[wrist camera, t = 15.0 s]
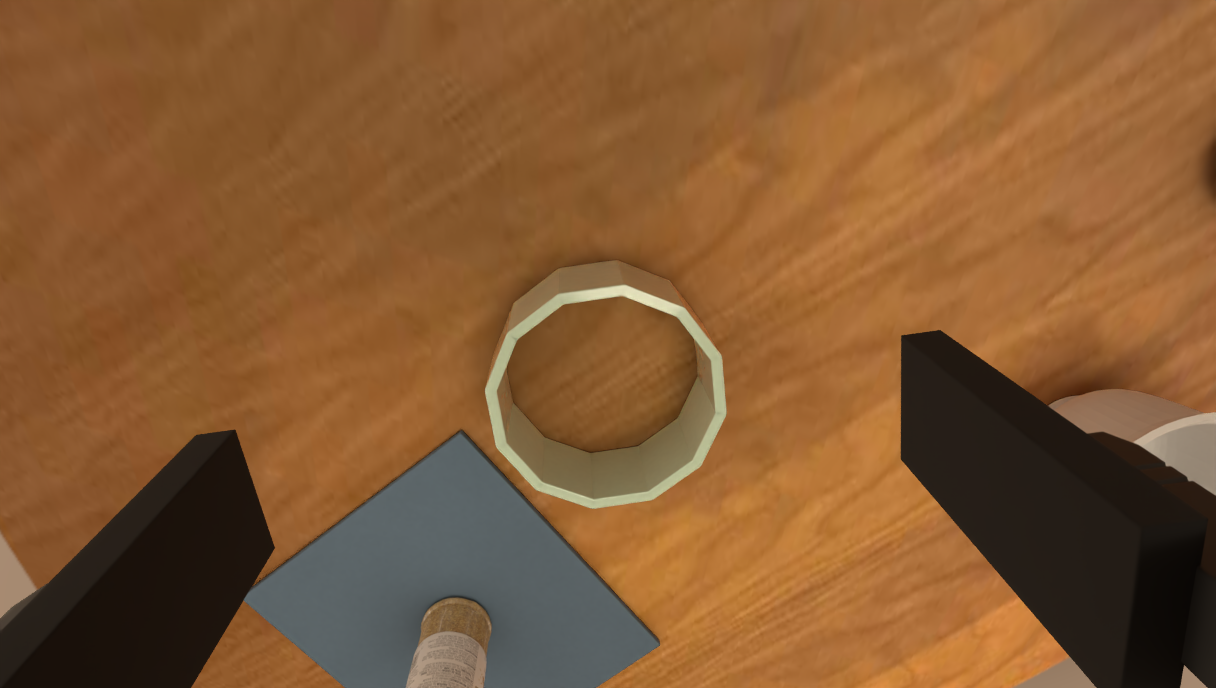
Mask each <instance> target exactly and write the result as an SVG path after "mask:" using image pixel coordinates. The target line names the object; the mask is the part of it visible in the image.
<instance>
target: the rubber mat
mask: <svg viewBox="0 0 1216 688" xmlns="http://www.w3.org/2000/svg"><path fill="white" fill-rule="evenodd" d="M455 597H458V598H464V599H467V600H471V601H474V602H476V603H477V604H479V605H480V606H481V607H482V608H483V609H484V610H485V611H486V612H487V614H488V615H489V617H490V621H491V624H492V629H491V636H490V639H489V641H488V648H487V655H486V662H487V663H486V672H485V680H484V687H483V688H596V687H598V686H599V685H601V684H602V683H604V682H605V681H607V680H608V679H610V678H611V677H613V676H614V675H616V674H617V673H619V672H621V671H622V670H624V669H625V668H627V667H628V666H630V665H631V664H633V663H634V662H636V661H637V660H639V659H640V658H642V657H643V656H645V655H646V654H648V653H649V652H651V651H652V650H654V649H655V648H657V647H658V646H660V641H659V640H658V638H657V637H656V636H655V635H654V634H653V633H652V632H651V631H650V630H649V629H648V628H647V627H646V626H645V625H644V624H643V623H642V621H641V620H640V619H639V618H638V617H637V616H636V615H635V614H634V613H633V612H632V611H631V610H630V609H629V608H628V607H627V605H626V604H625V603H624V602H623V601H622V600H621V599H620V598H619V597H618V596H617V595H616V594H615V593H614V592H613V591H612V590H611V588H610V587H609V586H608V585H607V584H606V583H605V582H604V581H603V580H602V579H601V578H600V577H599V576H598V575H597V574H596V572H595V571H594V570H593V569H592V568H591V567H590V566H589V565H588V564H587V563H586V562H585V561H584V560H583V559H582V558H581V556H580V555H579V554H578V553H577V552H576V551H575V550H574V549H573V548H572V547H571V546H570V545H569V544H568V543H567V542H566V541H565V539H564V538H563V537H562V536H561V535H560V534H559V533H558V532H557V531H556V530H555V529H554V528H553V527H552V526H551V525H550V523H549V522H548V521H547V520H546V519H545V518H544V517H543V516H542V515H541V514H540V513H539V512H538V511H537V510H536V509H535V508H534V506H533V505H532V504H531V503H530V502H529V501H528V500H527V499H526V498H525V497H524V496H523V495H522V494H521V493H520V492H519V490H518V489H517V488H516V487H515V486H514V485H513V484H512V483H511V482H510V481H509V480H508V479H507V478H506V477H505V476H504V474H503V473H502V472H501V471H500V470H499V469H498V468H497V467H496V466H495V465H494V464H493V463H492V462H491V461H490V460H489V459H488V457H487V456H486V455H485V454H484V453H483V452H482V451H481V450H480V449H479V448H478V447H477V446H476V445H475V444H474V443H473V441H472V440H471V439H470V438H469V437H468V436H467V435H466V434H465V433H464V432H463V431H462V430H461V431H459V432H458V433H457V434H455V435H454V436H453V437H451V438H450V439H449V440H447V441H446V442H445V443H443V444H442V445H441V446H439V447H438V448H437V449H435V450H434V451H433V452H431V453H430V454H429V455H427V456H426V457H425V458H424V459H422V460H421V461H420V462H418V463H417V464H416V465H414V466H413V467H412V468H410V469H409V470H408V471H406V472H405V473H404V474H402V475H401V476H400V477H398V478H397V479H396V480H394V481H393V482H392V483H390V484H389V485H388V486H386V487H385V488H384V489H382V490H381V491H380V492H378V493H377V494H376V495H374V496H373V497H372V498H370V499H369V500H368V501H366V502H365V503H364V504H362V505H361V506H360V507H358V508H357V509H356V510H354V511H353V512H352V513H350V514H349V515H348V516H346V517H345V518H344V519H342V520H341V521H340V522H338V523H337V524H336V525H334V526H333V527H332V528H330V529H329V530H328V531H326V532H325V533H324V534H322V535H321V536H320V537H318V538H317V539H316V540H314V541H313V542H312V543H310V544H309V545H308V546H306V547H305V548H304V549H302V550H301V551H300V552H298V553H297V554H296V555H294V556H293V557H292V558H290V559H289V560H288V561H286V562H285V563H284V564H282V565H281V566H280V567H278V568H277V569H276V570H274V571H273V572H272V573H270V574H269V575H268V576H266V577H265V578H264V579H262V580H261V581H260V582H258V583H257V584H256V585H254V586H253V587H252V588H251V589H250V590H249V592H248V594H247V595H246V597H245V599H244V601H245V602H246V603H247V604H248V605H250V606H251V607H252V608H253V609H254V610H255V611H257V612H258V613H259V614H260V615H261V616H262V617H264V618H265V619H266V620H267V621H268V622H269V623H271V624H272V625H273V626H274V627H275V628H276V629H277V630H279V631H280V632H281V633H282V634H283V635H284V636H286V637H287V638H288V639H289V640H290V641H291V642H293V643H294V644H295V645H296V646H297V647H298V648H300V649H301V650H302V651H303V652H304V653H305V654H307V655H308V656H309V657H310V658H311V659H312V660H314V661H315V662H316V663H317V664H318V665H319V666H321V667H322V668H323V669H324V670H325V671H326V672H328V673H329V674H330V675H331V676H332V677H333V678H335V679H336V680H337V681H338V682H339V683H340V684H342V685H343V686H344V687H345V688H406V684H407V680H408V676H409V673H410V669H411V665H412V661H413V657H414V654H415V651H416V649H417V647H418V643H419V640H420V636H421V623H422V620H423V617H424V615H425V613H426V611H427V610H428V609H429V608H430V607H431V606H433V605H434V604H435V603H437V602H439V601H441V600H443V599H447V598H455Z"/></svg>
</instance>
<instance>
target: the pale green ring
mask: <svg viewBox="0 0 1216 688" xmlns="http://www.w3.org/2000/svg"><path fill="white" fill-rule="evenodd" d="M620 296H624V297H626V298H629V299H631V300H634V301H636V302H639V303H642V304H644V305H647V306H649V307H652V308H655V309H657V310H660V311H662V312H665V313H667V314H670V315H673V316H675V317H677V318H678V319H679V320H680V322H681V323H682V324H683V325H684V327H685V328H686V329H687V331H688V332H689V333H690V335H691V336H692V337H693V338H694V340H695V350H696V361H697V371H698V376H697V379H696V381H695V383H694V385H693V387H692V389H691V391H690V393H689V395H688V397H687V399H686V402H685V404H684V406H683V408H682V410H681V412H680V414H679V416H678V418H677V419H675V420H674V421H673V422H671V423H670V424H668V425H667V426H666V427H664V428H663V429H661V430H660V431H659V432H657V433H656V434H654V435H653V436H652V437H650V438H649V439H647V440H646V441H645V442H643V443H642V444H640V445H639V446H635V447H629V448H622V449H615V450H608V451H601V452H594V453H588V452H586V451H583V450H580V449H577V448H574V447H571V446H568V445H565V444H562V443H559V442H557V441H554V440H551V439H548V438H545V437H544V436H543V435H542V434H541V433H540V432H539V431H538V429H537V428H536V427H535V426H534V425H533V424H532V423H531V422H530V421H529V419H528V418H527V417H526V416H525V415H524V414H523V413H522V412H521V411H520V409H519V408H518V407H517V406H516V405H515V404H514V403H513V400H512V394H511V389H510V384H509V378H508V373H507V368H506V367H507V364H508V362H509V359H510V357H511V354H512V352H513V349H514V347H515V344H516V342H517V340H518V339H519V338H520V337H522V336H523V335H524V334H526V333H527V332H528V331H530V330H531V329H532V328H533V327H535V326H536V325H537V324H539V323H540V322H541V321H543V320H544V319H545V318H547V317H548V316H549V315H550V314H552V313H553V312H554V311H556V310H557V309H558V308H560V307H561V306H562V305H564V304H571V303H578V302H585V301H592V300H599V299H606V298H613V297H620ZM485 394H486V399H487V404H488V409H489V414H490V419H491V424H492V429H493V434H494V439H495V444H496V447H497V449H498V450H499V451H500V452H501V453H502V454H503V455H504V456H505V457H506V458H507V459H508V461H509V462H510V463H511V464H512V465H513V466H514V467H515V468H516V469H517V470H518V471H519V472H520V473H521V475H522V476H523V477H524V478H525V479H526V480H527V481H528V482H529V483H530V484H531V485H532V486H533V487H534V489H535V490H537V491H540V492H543V493H546V494H549V495H552V496H555V497H558V498H561V499H564V500H567V501H570V502H573V503H576V504H579V505H582V506H585V507H588V508H591V509H592V508H593V509H595V508H602V507H609V506H616V505H623V504H630V503H636V502H643V501H650V500H653V499H655V498H656V497H658V496H659V495H660V494H662V493H663V492H665V491H666V490H668V489H669V488H670V487H672V486H673V485H675V484H676V483H678V482H679V481H680V480H682V479H683V478H685V477H686V476H688V475H689V474H690V473H692V472H693V471H695V470H696V469H698V468H699V467H700V466H701V465H702V463H703V461H704V459H705V457H706V455H707V453H708V451H709V449H710V447H711V445H712V443H713V441H714V439H715V437H716V435H717V433H718V431H719V429H720V427H721V425H722V423H723V421H724V419H725V417H726V414H727V409H726V397H725V386H724V374H723V363H722V356H721V354H720V352H719V350H718V348H717V347H716V345H715V343H714V342H713V340H712V338H711V337H710V335H709V333H708V332H707V330H706V328H705V326H704V325H703V323H702V322H701V321H700V319H699V318H698V317H697V315H696V314H695V313H694V311H693V310H692V309H691V307H690V306H689V305H688V304H687V302H686V301H685V300H684V298H683V297H682V296H681V294H680V293H679V292H678V290H677V289H676V288H675V287H674V285H673V284H672V283H671V281H669V280H667V279H664V278H662V277H659V276H657V275H654V274H652V273H649V272H646V271H644V270H641V269H639V268H636V267H634V266H631V265H629V264H626V263H624V262H621V261H619V260H612V261H605V262H598V263H591V264H584V265H577V266H570V267H563V268H559V269H557V270H556V271H554V272H553V273H552V274H550V275H549V276H548V277H547V278H545V279H544V280H543V281H541V282H540V283H539V284H538V285H536V286H535V287H534V288H532V289H531V290H530V291H528V292H527V293H526V294H525V295H523V296H522V297H521V298H519V299H518V300H517V301H516V302H514V304H513V305H512V308H511V310H510V313H509V315H508V318H507V320H506V323H505V326H504V328H503V331H502V333H501V336H500V339H499V341H498V344H497V346H496V349H495V351H494V354H493V358H492V362H491V366H490V371H489V375H488V379H487V383H486V387H485Z"/></svg>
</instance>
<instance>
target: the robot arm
mask: <svg viewBox="0 0 1216 688" xmlns="http://www.w3.org/2000/svg"><path fill="white" fill-rule="evenodd" d="M901 460H902V461H903V462H904V463H905V465H906V466H907V467H908V468H909V469H910V470H911V472H912V473H913V474H914V475H915V476H916V477H917V479H918V480H919V481H920V482H921V483H922V484H923V486H924V487H925V488H926V489H927V490H928V491H929V493H930V494H931V495H932V496H933V497H934V498H935V500H936V501H937V502H938V503H939V504H940V505H941V507H942V508H943V509H944V510H945V511H946V512H947V514H948V515H949V516H950V517H951V518H952V519H953V521H954V522H955V523H956V524H957V525H958V526H959V528H960V529H961V530H962V531H963V532H964V533H965V535H966V536H967V537H968V538H969V539H970V540H971V542H972V543H973V544H974V545H975V546H976V548H977V549H978V550H979V551H980V552H981V553H982V555H983V556H984V557H985V558H986V559H987V560H988V562H989V563H990V564H991V565H992V566H993V567H994V569H995V570H996V571H997V572H998V573H999V574H1000V576H1001V577H1002V578H1003V579H1004V580H1005V581H1006V583H1007V584H1008V585H1009V586H1010V587H1011V588H1012V590H1013V591H1014V592H1015V593H1016V594H1017V595H1018V597H1019V598H1020V599H1021V600H1022V601H1023V602H1024V604H1025V605H1026V606H1027V607H1028V608H1029V609H1030V611H1031V612H1032V613H1033V614H1034V615H1035V616H1036V618H1037V619H1038V620H1039V621H1040V622H1041V623H1042V625H1043V626H1044V627H1045V628H1046V629H1047V630H1048V632H1049V633H1050V634H1051V635H1052V636H1053V637H1054V639H1055V640H1056V641H1057V642H1058V643H1059V644H1060V646H1061V647H1062V648H1063V649H1064V650H1065V651H1066V653H1067V654H1068V655H1069V656H1070V657H1071V658H1072V660H1073V661H1074V662H1075V663H1076V664H1077V665H1078V666H1079V668H1080V669H1081V670H1082V671H1083V672H1084V674H1085V675H1086V676H1087V677H1088V678H1089V679H1090V680H1091V682H1092V683H1093V684H1094V685H1095V686H1096V687H1097V688H1180V685H1181V679H1182V673H1183V667H1184V665H1185V666H1186V667H1187V668H1188V669H1189V670H1190V671H1191V672H1192V673H1193V674H1194V675H1195V676H1196V677H1197V678H1198V679H1199V680H1200V681H1201V682H1202V683H1203V684H1204V685H1206V686H1207V687H1208V688H1216V495H1214V494H1213V493H1211V492H1209V491H1208V490H1206V489H1205V488H1203V487H1202V486H1200V485H1199V484H1197V483H1196V482H1194V481H1188V479H1187V476H1185V475H1184V474H1182V473H1181V472H1179V471H1178V470H1176V469H1175V468H1173V467H1172V466H1166V464H1165V462H1164V461H1162V460H1161V459H1159V458H1158V457H1156V456H1155V455H1153V454H1152V453H1150V452H1149V451H1147V450H1146V449H1144V448H1143V447H1141V446H1140V445H1138V444H1135V443H1133V442H1130V441H1127V440H1125V439H1122V438H1119V437H1116V436H1114V435H1111V434H1108V433H1106V432H1103V431H1102V432H1095V433H1086V432H1084V431H1083V430H1082V429H1080V428H1079V427H1077V426H1076V425H1074V424H1073V423H1072V422H1070V421H1069V420H1067V419H1066V418H1064V417H1063V416H1062V415H1060V414H1059V413H1057V412H1056V411H1054V410H1053V409H1052V408H1050V407H1049V406H1047V405H1046V404H1045V403H1043V402H1042V401H1040V400H1039V399H1037V398H1036V397H1035V396H1033V395H1032V394H1030V393H1029V392H1027V391H1026V390H1025V389H1023V388H1022V387H1020V386H1019V385H1017V384H1016V383H1015V382H1013V381H1012V380H1010V379H1009V378H1007V377H1006V376H1005V375H1003V374H1002V373H1000V372H999V371H998V370H996V369H995V368H993V367H992V366H990V365H989V364H988V363H986V362H985V361H983V360H982V359H980V358H979V357H978V356H976V355H975V354H973V353H972V352H970V351H969V350H968V349H966V348H965V347H963V346H962V345H961V344H959V343H958V342H956V341H955V340H953V339H952V338H951V337H949V336H948V335H946V334H945V333H943V332H942V331H941V330H937V331H930V332H923V333H916V334H909V335H902V336H901ZM274 549H275V547H274V544H273V541H272V538H271V535H270V532H269V529H268V526H267V523H266V520H265V517H264V514H263V511H262V508H261V505H260V502H259V499H258V496H257V493H256V490H255V487H254V484H253V481H252V478H251V475H250V472H249V469H248V466H247V463H246V460H245V457H244V454H243V451H242V448H241V445H240V442H239V439H238V436H237V433H236V430H229V431H221V432H214V433H207V434H200V435H196V436H195V437H194V438H193V439H192V440H191V441H190V442H189V443H188V444H187V445H186V446H185V447H184V448H183V449H182V450H181V451H180V452H179V453H178V454H177V455H176V456H175V457H174V458H173V459H172V460H171V461H170V462H169V463H168V464H167V465H166V466H165V467H164V468H163V469H162V470H161V471H160V472H159V473H158V474H157V475H156V476H155V477H154V478H153V479H152V480H151V481H150V482H149V483H148V484H147V485H146V486H145V487H144V488H143V489H142V490H141V491H140V492H139V493H138V494H137V495H136V496H135V497H134V498H133V499H132V500H131V501H130V502H129V503H128V504H127V505H126V506H125V507H124V508H123V509H122V510H121V511H120V512H119V513H118V514H117V515H116V516H115V517H114V518H113V519H112V520H111V521H110V522H109V523H108V524H107V525H106V526H105V527H104V528H103V529H102V530H101V531H100V532H99V533H98V534H97V535H96V536H95V537H94V538H93V539H92V540H91V541H90V542H89V543H88V544H87V545H86V546H85V547H84V548H83V549H82V550H81V551H80V552H79V553H78V554H77V555H76V556H75V557H74V558H73V559H72V560H71V561H70V562H69V563H68V564H67V565H66V566H65V567H64V568H63V569H62V570H61V571H60V572H59V573H58V574H57V575H56V576H55V577H54V578H53V579H52V580H51V581H50V582H49V583H48V584H46V585H44V586H43V587H41V588H40V589H38V590H37V591H35V592H34V593H32V594H31V595H29V596H28V597H26V598H25V599H23V600H22V601H20V602H19V603H18V604H16V605H14V606H13V607H12V608H11V609H10V610H9V611H8V612H7V613H6V614H4V615H3V616H2V618H0V688H191V687H192V685H193V684H194V682H195V680H196V679H197V677H198V675H199V674H200V672H201V670H202V669H203V667H204V665H205V664H206V662H207V660H208V659H209V657H210V655H211V654H212V652H213V650H214V649H215V647H216V645H217V644H218V642H219V640H220V639H221V637H222V635H223V634H224V632H225V630H226V629H227V627H228V625H229V624H230V622H231V620H232V619H233V617H234V615H235V614H236V612H237V610H238V609H239V607H240V605H241V604H242V602H243V600H244V599H245V597H246V595H247V594H248V592H249V590H250V589H251V587H252V585H253V584H254V582H255V580H256V579H257V577H258V575H259V574H260V572H261V570H262V569H263V567H264V565H265V564H266V562H267V560H268V559H269V557H270V555H271V554H272V552H273V550H274Z"/></svg>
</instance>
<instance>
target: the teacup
mask: <svg viewBox="0 0 1216 688" xmlns="http://www.w3.org/2000/svg"><path fill="white" fill-rule="evenodd" d="M1048 406H1049V407H1050V408H1052V409H1053V410H1054V411H1056V412H1057V413H1059V414H1060V415H1062V416H1063V417H1064V418H1066V419H1067V420H1069V421H1070V422H1072V423H1073V424H1074V425H1076V426H1077V427H1079V428H1080V429H1082V430H1083V431H1084V432H1086V433H1095V432H1102V431H1103V432H1106V433H1108V434H1111V435H1114V436H1116V437H1119V438H1122V439H1125V440H1127V441H1130V442H1133V443H1135V444H1138V445H1140V446H1141V447H1143V448H1144V449H1146V450H1147V451H1149V452H1150V453H1152V454H1153V455H1155V456H1156V457H1158V458H1159V459H1161V460H1162V461H1164V462H1165V464H1166V466H1172V467H1173V468H1175V469H1176V470H1178V471H1179V472H1181V473H1182V474H1184V475H1185V476H1187V479H1188V481H1194V482H1196V483H1197V484H1199V485H1200V486H1202V487H1203V488H1205V489H1206V490H1208V491H1209V492H1211V493H1213V494H1214V495H1216V412H1214V413H1207V414H1206V413H1203V412H1200V411H1197V410H1194V409H1192V408H1189V407H1186V406H1183V405H1181V404H1178V403H1175V402H1172V401H1169V400H1167V399H1164V398H1161V397H1157V396H1154V395H1150V394H1147V393H1143V392H1139V391H1132V390H1125V389H1106V390H1098V391H1093V392H1089V393H1086V394H1083V395H1076V396H1069V397H1065V398H1062V399H1059V400H1057V401H1055V402H1053V403H1051V404H1050V405H1048Z"/></svg>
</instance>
